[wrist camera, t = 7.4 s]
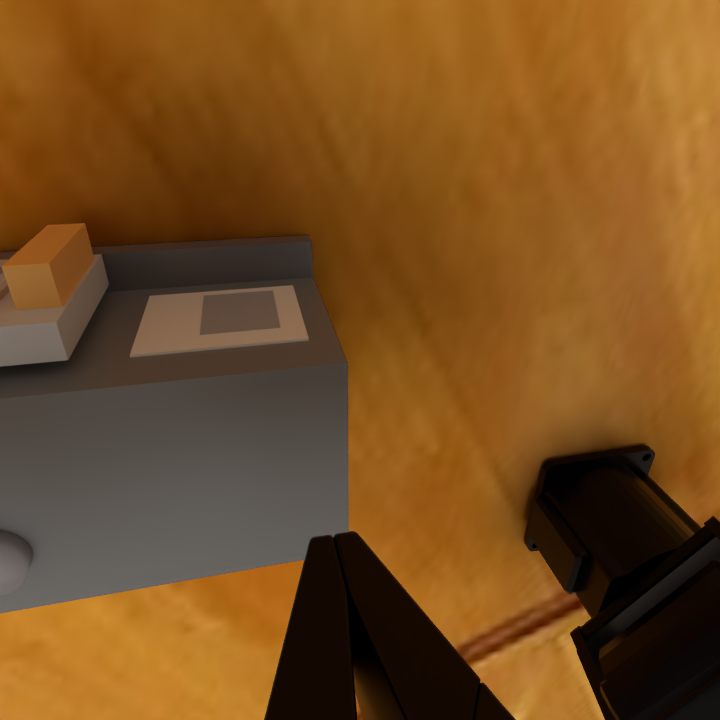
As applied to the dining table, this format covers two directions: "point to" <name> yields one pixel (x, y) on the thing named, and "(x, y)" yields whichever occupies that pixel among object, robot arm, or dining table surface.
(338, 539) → the robot arm
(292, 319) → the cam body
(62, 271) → the side door
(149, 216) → the dining table surface
